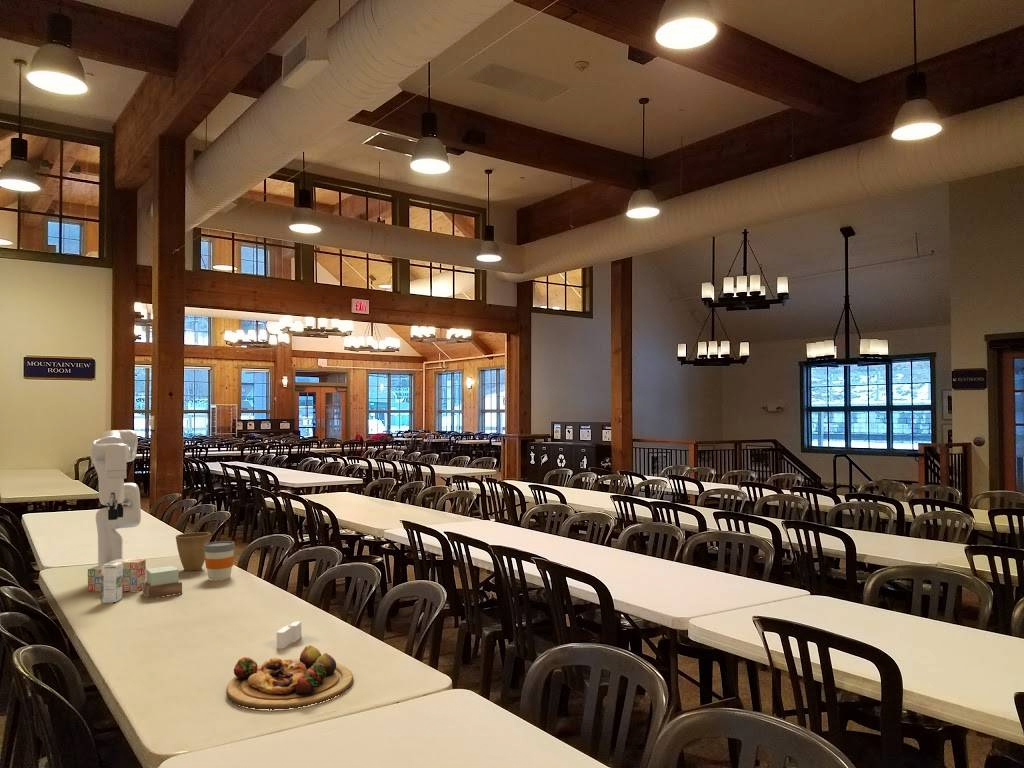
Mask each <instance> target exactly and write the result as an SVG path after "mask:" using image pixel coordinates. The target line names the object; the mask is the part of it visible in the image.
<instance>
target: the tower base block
mask: <svg viewBox="0 0 1024 768" xmlns="http://www.w3.org/2000/svg"><path fill="white" fill-rule="evenodd" d="M143 593H144V594H145V595H146V596H147V597H146V598H147V599H149V600H151V599H150V598H153V599H157V598H156V597H160V598H163V597H162V596H166V597H168V596H167V595H173V594H179V593H182V594H183V581H181V580H179V582H176V583H170V584H163V585H156V586H151V585H149V584H148V583H147V582H146V580H145V581H144V582H143V590H142V594H143ZM144 594H143V595H144ZM145 595H144V596H145ZM179 595H180V594H179ZM173 596H174V595H173Z"/></svg>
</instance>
